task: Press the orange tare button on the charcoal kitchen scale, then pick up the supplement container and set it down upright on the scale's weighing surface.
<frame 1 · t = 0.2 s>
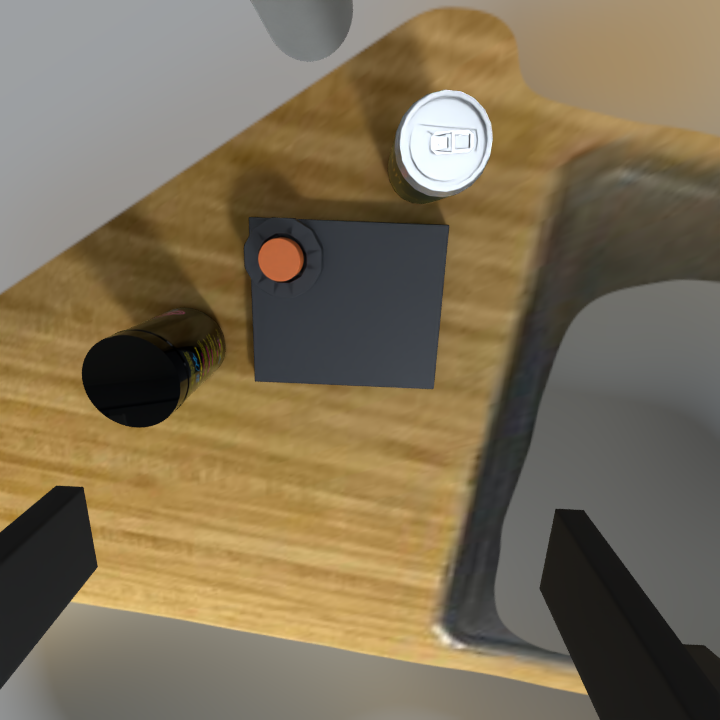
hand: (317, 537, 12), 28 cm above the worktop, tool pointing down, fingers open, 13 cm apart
supplement container: (192, 341, 40), on the worktop
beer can: (420, 169, 35), on the worktop
kitchen scale: (347, 305, 38), on the worktop
tare button: (281, 259, 34), point 4 cm above the worktop, slide at 0.1 cm
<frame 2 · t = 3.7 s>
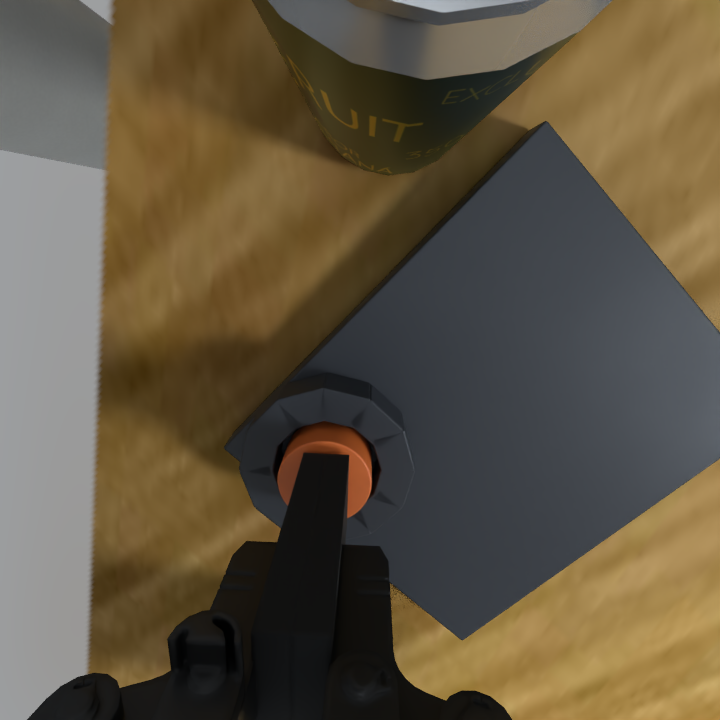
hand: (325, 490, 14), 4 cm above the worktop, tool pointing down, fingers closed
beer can: (392, 91, 15), on the worktop
kitchen scale: (486, 415, 18), on the worktop
tare button: (326, 469, 16), point 3 cm above the worktop, slide at -0.5 cm, touching gripper
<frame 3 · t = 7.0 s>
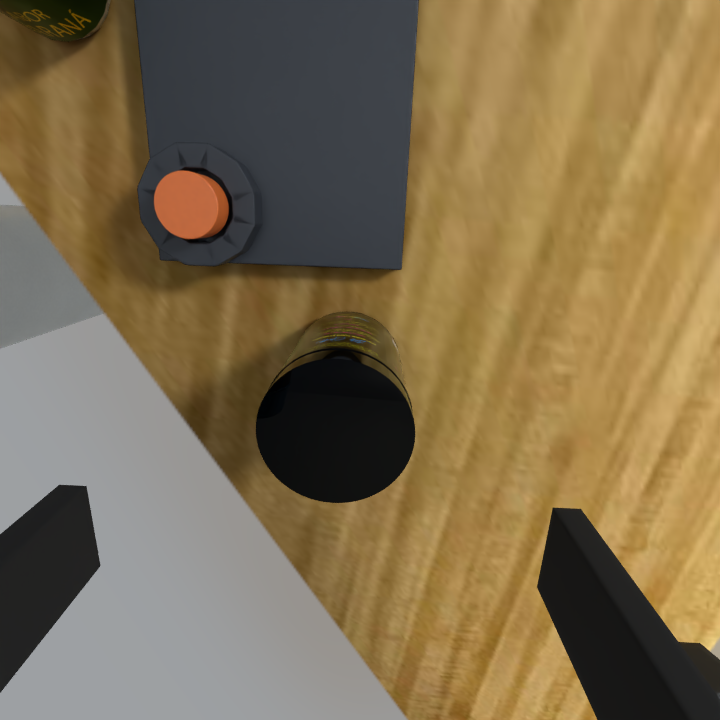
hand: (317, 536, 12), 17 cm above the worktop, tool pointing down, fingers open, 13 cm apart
supplement container: (347, 359, 28), on the worktop
kitchen scale: (282, 115, 24), on the worktop
tare button: (192, 206, 22), point 4 cm above the worktop, slide at 0.1 cm
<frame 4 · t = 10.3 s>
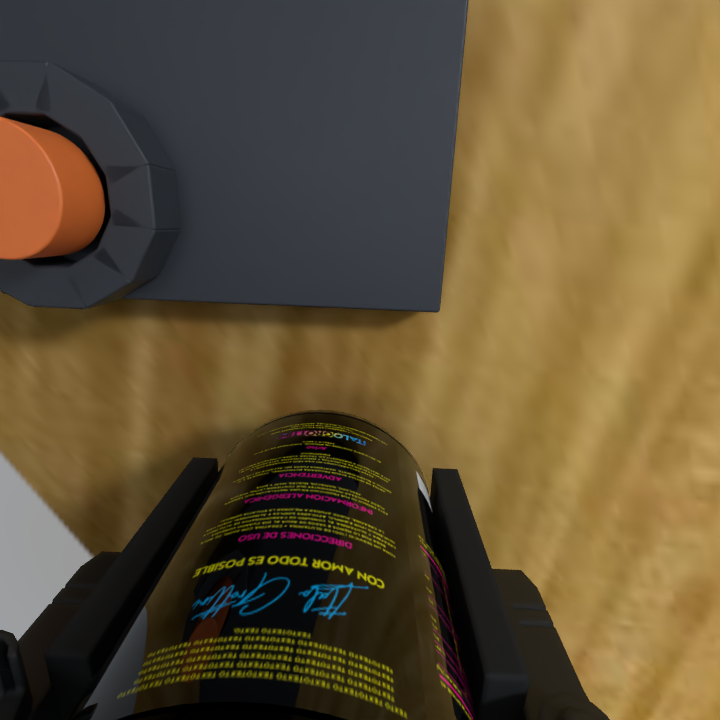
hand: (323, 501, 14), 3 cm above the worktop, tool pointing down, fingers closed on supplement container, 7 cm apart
supplement container: (325, 491, 14), point 2 cm above the worktop, touching gripper
kitchen scale: (217, 22, 13), on the worktop
tare button: (22, 192, 11), point 4 cm above the worktop, slide at 0.1 cm
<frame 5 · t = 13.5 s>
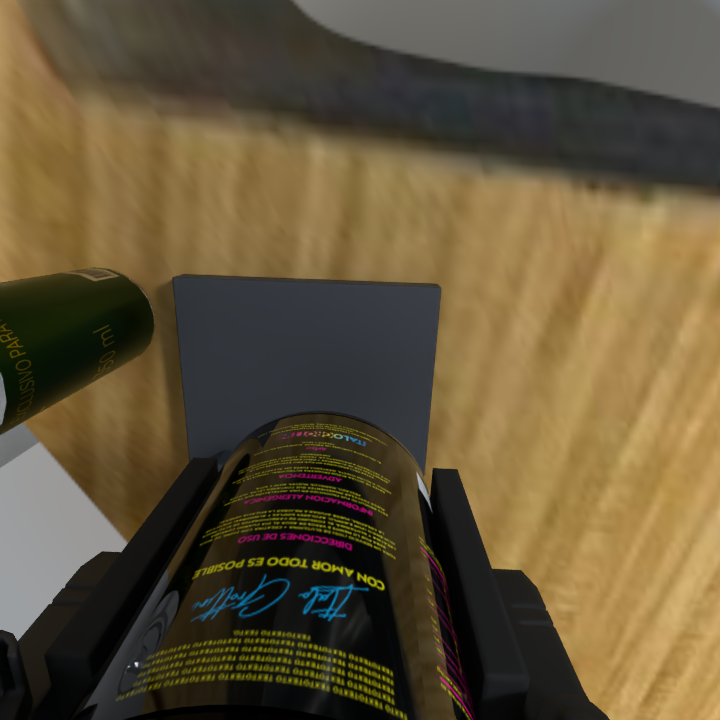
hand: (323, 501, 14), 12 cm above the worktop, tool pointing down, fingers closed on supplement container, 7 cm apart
supplement container: (325, 492, 14), point 12 cm above the worktop, touching gripper
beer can: (115, 313, 25), on the worktop
kitchen scale: (309, 412, 26), on the worktop
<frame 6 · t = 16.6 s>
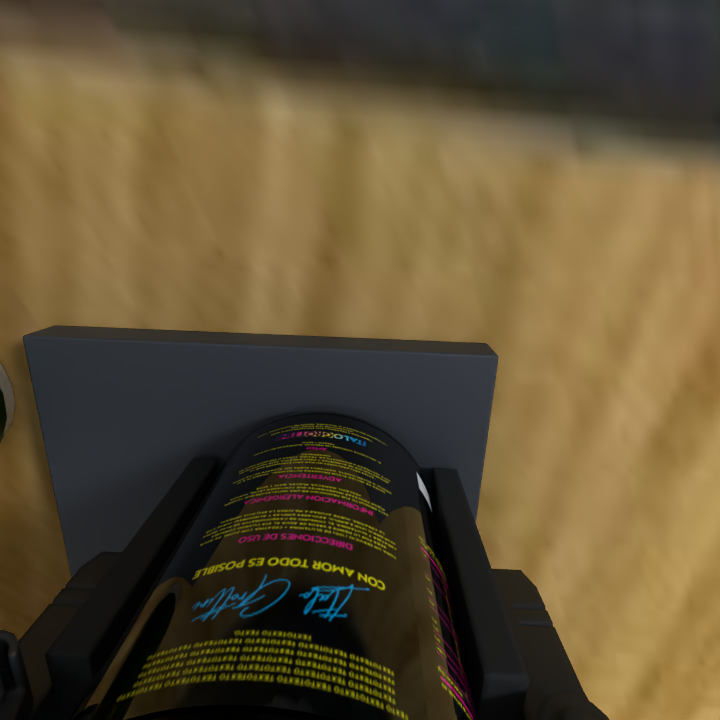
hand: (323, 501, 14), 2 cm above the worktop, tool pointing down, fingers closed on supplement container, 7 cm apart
supplement container: (325, 492, 14), point 1 cm above the worktop, touching gripper
kitchen scale: (274, 539, 16), on the worktop
when the fingers open (2 cm above the worktop, at t = 16.7 s): supplement container stays where it is, resting on kitchen scale.
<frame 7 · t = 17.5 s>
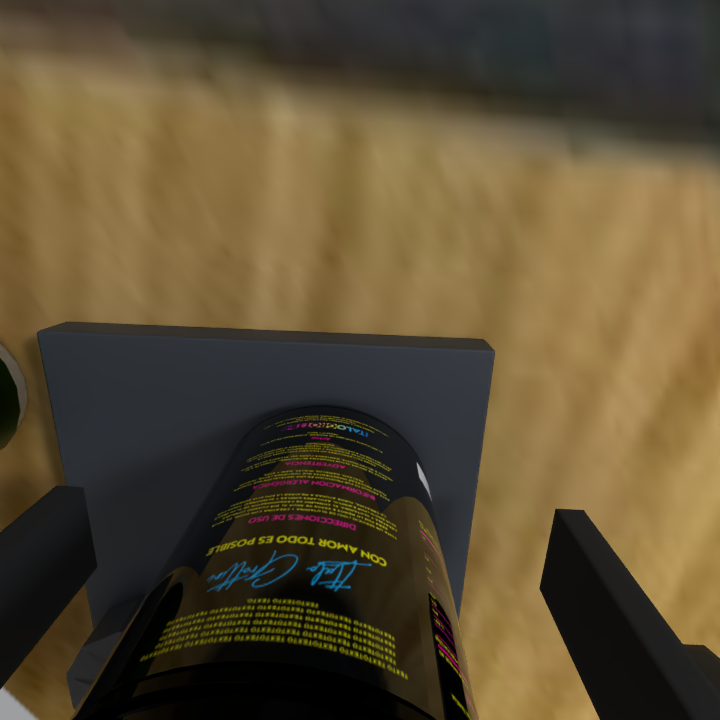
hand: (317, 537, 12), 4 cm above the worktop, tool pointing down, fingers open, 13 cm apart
supplement container: (328, 483, 15), point 1 cm above the worktop, touching kitchen scale
kitchen scale: (278, 530, 17), on the worktop
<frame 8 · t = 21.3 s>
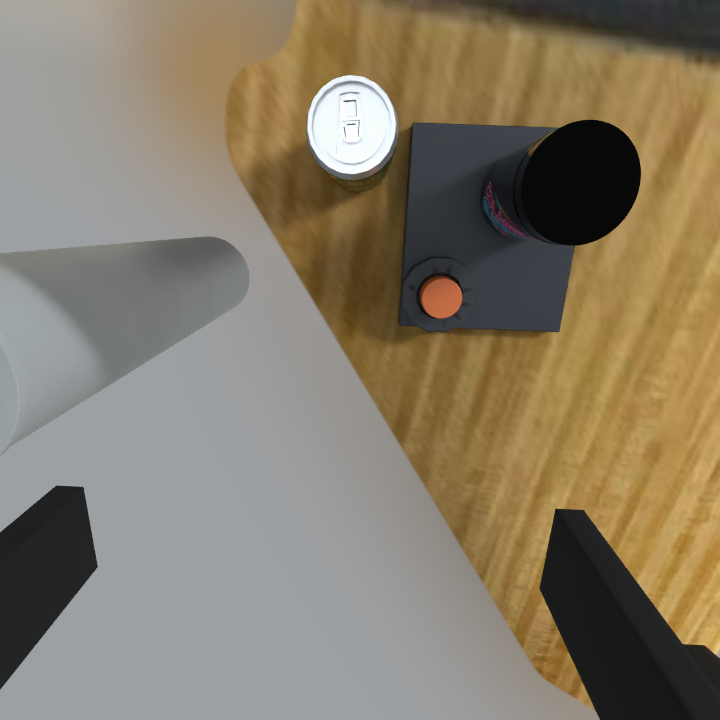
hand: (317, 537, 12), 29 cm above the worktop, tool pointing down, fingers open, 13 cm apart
supplement container: (520, 196, 35), point 1 cm above the worktop, touching kitchen scale
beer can: (357, 157, 36), on the worktop
kitchen scale: (486, 233, 37), on the worktop
tare button: (440, 297, 35), point 4 cm above the worktop, slide at 0.1 cm
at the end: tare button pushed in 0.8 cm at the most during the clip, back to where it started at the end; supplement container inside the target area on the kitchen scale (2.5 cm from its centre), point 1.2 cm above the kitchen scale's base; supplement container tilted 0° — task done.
